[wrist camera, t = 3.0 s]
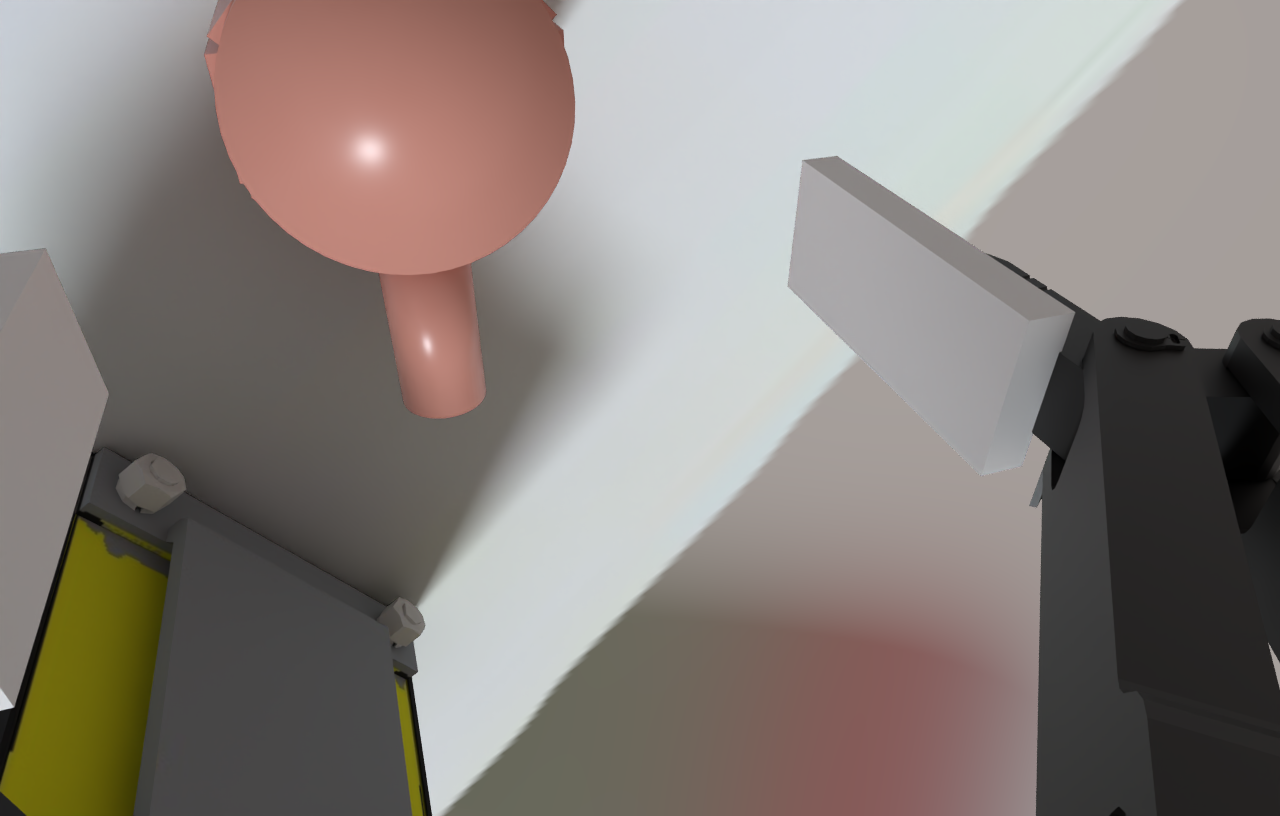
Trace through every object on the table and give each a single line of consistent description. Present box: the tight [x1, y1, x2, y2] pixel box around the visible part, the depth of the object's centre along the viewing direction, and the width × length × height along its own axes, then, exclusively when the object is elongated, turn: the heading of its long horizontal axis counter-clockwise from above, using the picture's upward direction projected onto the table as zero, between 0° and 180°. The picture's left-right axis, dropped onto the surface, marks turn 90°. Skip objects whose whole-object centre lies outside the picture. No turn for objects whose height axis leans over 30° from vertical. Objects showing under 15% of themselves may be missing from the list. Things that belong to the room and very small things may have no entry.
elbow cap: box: [204, 0, 575, 418], centre depth 28 cm, size 16×9×8 cm, turn 1°
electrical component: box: [0, 447, 432, 816], centre depth 32 cm, size 18×10×20 cm, turn 36°
